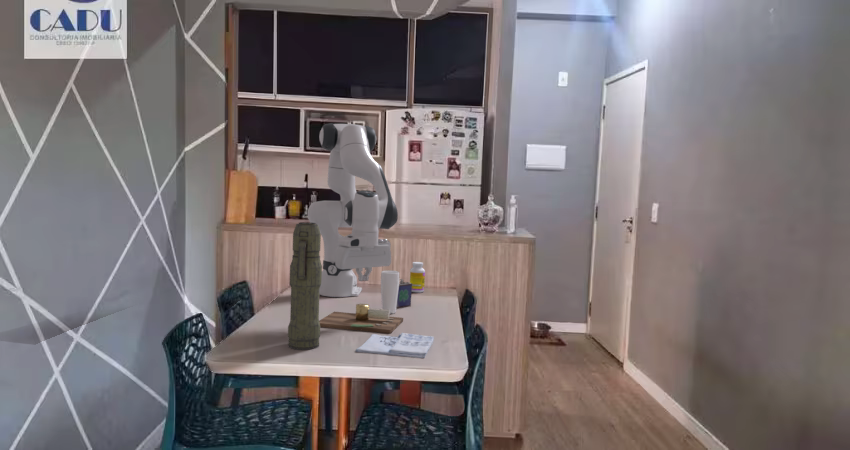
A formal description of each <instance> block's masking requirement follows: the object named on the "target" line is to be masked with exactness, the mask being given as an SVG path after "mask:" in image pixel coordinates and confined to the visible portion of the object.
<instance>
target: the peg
mask: <svg viewBox="0 0 850 450" xmlns="http://www.w3.org/2000/svg"><path fill="white" fill-rule="evenodd" d="M355 314H356V320H359V321H366V320H369V318H374V319H385V320H389V317H391V316H390V310H385V309H382V308H373V307H372V308H371V307H370V304H369V303H356V304H355Z"/></svg>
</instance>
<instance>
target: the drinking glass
mask: <svg viewBox="0 0 850 450" xmlns="http://www.w3.org/2000/svg"><path fill="white" fill-rule="evenodd" d="M380 273H381V274H380V293H381V296H380V297H381V309H385V310H390V314H391V315H392V314H395V313H396V312H397V308H396V306H397V298H398V290H399V284H400V279H401V278H400V271H397V270H382V271H381V272H380Z"/></svg>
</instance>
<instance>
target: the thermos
mask: <svg viewBox="0 0 850 450" xmlns="http://www.w3.org/2000/svg"><path fill="white" fill-rule="evenodd" d="M321 238H322V235H321V233H320V229H319V226H318V225H317V224H316V223H310V221H309V222H306V221H305V222H298V223H296V224H295V227H294V230H293V234H292V252H293V253H292V256H291V257H292V259H291V263H290V264H289V265H290V266H289V286H290V313H289V314H290V316H289V317H290V319H289V320H290V321H289V323H288V326H287V338H288V343H287V344H288V348H290V349H293V350H298V351H308V350H309V351H310V350H314V349H317V348H319V347H320V337H321V327H320V322H319V319H320V315H319V313H320V294H319V290H320V286H321V280H322V271H323V270H322V269H323V264H322V261H321V256H320V251H321V240H322V239H321Z"/></svg>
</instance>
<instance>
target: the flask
mask: <svg viewBox="0 0 850 450" xmlns="http://www.w3.org/2000/svg"><path fill="white" fill-rule="evenodd" d="M412 293H413V292H412V283H410V281H405V280H404V279H403V278H399V290H398V298H397V306H396V309H402V308H407V307H411V306H412Z"/></svg>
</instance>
